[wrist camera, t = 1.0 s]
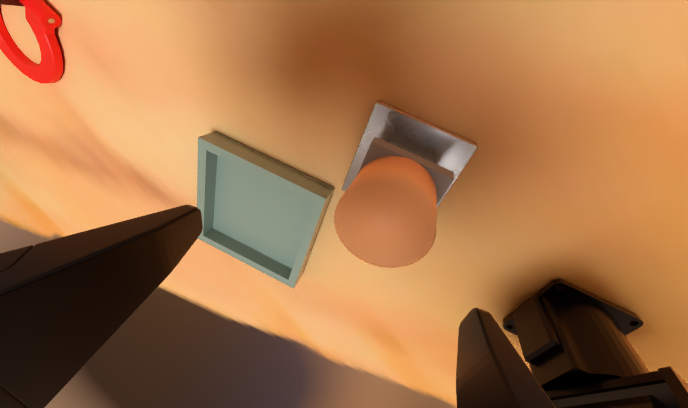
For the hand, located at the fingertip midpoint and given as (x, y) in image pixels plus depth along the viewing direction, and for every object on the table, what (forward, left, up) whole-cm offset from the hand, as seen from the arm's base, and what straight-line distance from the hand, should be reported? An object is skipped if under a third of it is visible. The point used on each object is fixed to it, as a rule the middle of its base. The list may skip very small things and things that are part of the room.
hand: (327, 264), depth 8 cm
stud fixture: (-1, +1, -13) cm, 13 cm away
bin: (+9, +11, -13) cm, 19 cm away
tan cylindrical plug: (-1, +1, -9) cm, 9 cm away
